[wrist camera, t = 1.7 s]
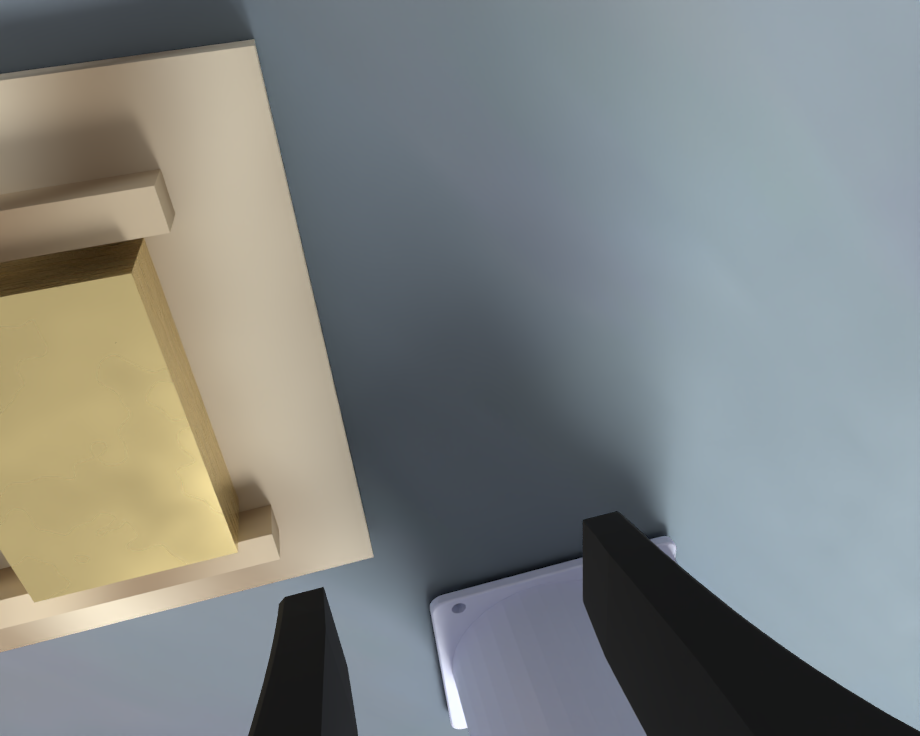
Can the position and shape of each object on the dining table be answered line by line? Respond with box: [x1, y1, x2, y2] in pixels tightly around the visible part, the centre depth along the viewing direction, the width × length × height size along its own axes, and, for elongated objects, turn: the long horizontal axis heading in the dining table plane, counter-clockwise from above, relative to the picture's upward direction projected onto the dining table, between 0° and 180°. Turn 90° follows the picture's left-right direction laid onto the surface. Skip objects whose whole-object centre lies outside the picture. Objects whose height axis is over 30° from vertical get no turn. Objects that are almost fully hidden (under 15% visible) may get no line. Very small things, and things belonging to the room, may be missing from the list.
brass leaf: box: [0, 238, 239, 603], centre depth 16 cm, size 7×8×2 cm
